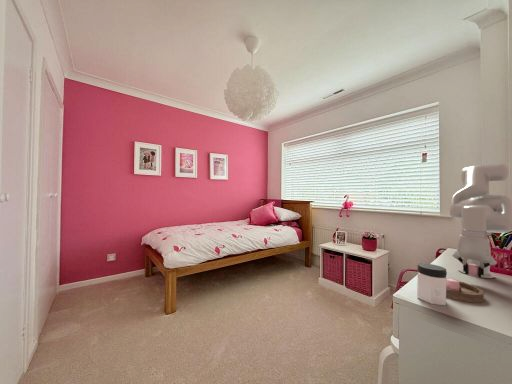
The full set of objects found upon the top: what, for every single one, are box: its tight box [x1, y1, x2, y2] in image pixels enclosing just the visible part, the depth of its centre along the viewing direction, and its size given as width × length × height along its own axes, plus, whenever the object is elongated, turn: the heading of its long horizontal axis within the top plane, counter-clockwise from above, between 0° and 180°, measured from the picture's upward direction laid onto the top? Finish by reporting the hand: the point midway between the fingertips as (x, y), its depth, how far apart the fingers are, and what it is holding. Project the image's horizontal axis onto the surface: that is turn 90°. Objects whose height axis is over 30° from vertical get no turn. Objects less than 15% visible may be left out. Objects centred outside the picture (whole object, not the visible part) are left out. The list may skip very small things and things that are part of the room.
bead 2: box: [467, 264, 480, 278], centre depth 92 cm, size 4×4×4 cm
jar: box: [416, 262, 448, 306], centre depth 76 cm, size 9×8×12 cm
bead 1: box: [446, 278, 459, 292], centre depth 80 cm, size 4×4×4 cm
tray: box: [446, 280, 485, 304], centre depth 83 cm, size 16×16×3 cm
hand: (473, 274), depth 92 cm, fingers closed on bead 2, 3 cm apart
